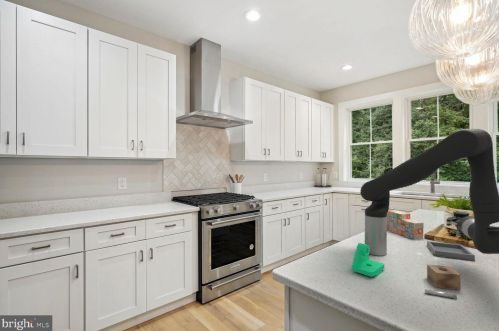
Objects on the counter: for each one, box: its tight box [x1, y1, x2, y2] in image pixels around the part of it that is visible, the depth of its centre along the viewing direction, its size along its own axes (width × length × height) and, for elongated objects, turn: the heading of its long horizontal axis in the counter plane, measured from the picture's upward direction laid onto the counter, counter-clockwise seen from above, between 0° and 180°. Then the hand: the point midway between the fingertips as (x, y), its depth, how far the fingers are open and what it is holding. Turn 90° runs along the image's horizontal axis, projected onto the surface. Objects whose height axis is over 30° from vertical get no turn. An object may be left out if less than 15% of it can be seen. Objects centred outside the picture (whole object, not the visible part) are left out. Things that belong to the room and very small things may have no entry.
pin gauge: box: [424, 289, 458, 299], centre depth 79 cm, size 8×1×1 cm, turn 66°
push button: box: [452, 209, 470, 237], centre depth 105 cm, size 7×5×10 cm
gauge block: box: [426, 264, 462, 291], centre depth 87 cm, size 7×7×5 cm
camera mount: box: [351, 242, 385, 277], centre depth 97 cm, size 12×8×10 cm, turn 131°
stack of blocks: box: [387, 209, 425, 241], centre depth 146 cm, size 21×6×12 cm, turn 9°
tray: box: [426, 240, 476, 262], centre depth 116 cm, size 14×15×2 cm
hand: (459, 219), depth 108 cm, fingers closed on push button, 3 cm apart
